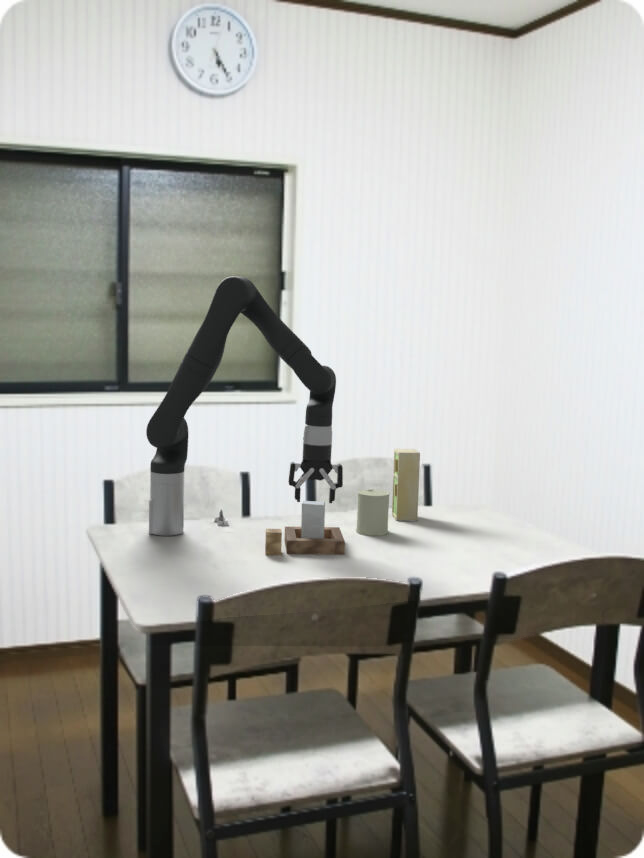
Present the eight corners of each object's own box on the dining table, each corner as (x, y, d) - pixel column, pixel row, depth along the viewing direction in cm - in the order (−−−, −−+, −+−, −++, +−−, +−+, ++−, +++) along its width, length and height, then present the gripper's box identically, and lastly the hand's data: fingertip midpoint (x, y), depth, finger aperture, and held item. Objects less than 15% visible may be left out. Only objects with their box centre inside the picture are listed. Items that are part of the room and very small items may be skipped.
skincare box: (324, 545, 249) (325, 501, 247) (323, 549, 245) (324, 504, 243) (301, 543, 249) (303, 500, 248) (300, 548, 245) (301, 503, 244)
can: (380, 527, 271) (382, 487, 270) (393, 535, 262) (394, 493, 261) (351, 528, 268) (353, 488, 267) (362, 536, 260) (364, 494, 258)
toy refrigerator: (388, 514, 288) (391, 448, 285) (412, 515, 288) (415, 448, 286) (393, 520, 280) (396, 452, 277) (417, 521, 281) (420, 452, 278)
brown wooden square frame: (286, 553, 239) (287, 540, 239) (284, 538, 254) (284, 526, 253) (344, 554, 240) (344, 541, 240) (338, 539, 255) (339, 527, 255)
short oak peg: (265, 555, 237) (266, 532, 236) (265, 551, 241) (265, 528, 240) (281, 555, 237) (281, 532, 237) (280, 551, 241) (281, 528, 241)
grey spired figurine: (207, 522, 271) (207, 507, 271) (229, 521, 273) (230, 507, 273) (216, 535, 257) (217, 519, 257) (240, 534, 259) (240, 518, 258)
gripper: (291, 443, 239) (288, 504, 241) (346, 445, 240) (342, 506, 242) (289, 438, 246) (287, 498, 249) (343, 440, 248) (339, 499, 250)
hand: (314, 502), depth 246 cm, fingers open, 8 cm apart
